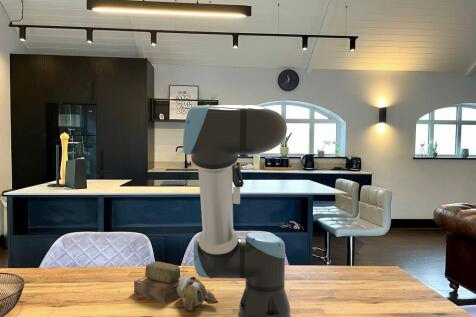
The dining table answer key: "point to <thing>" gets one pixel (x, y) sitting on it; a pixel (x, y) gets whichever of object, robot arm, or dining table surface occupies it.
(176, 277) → the stone block
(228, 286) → the dining table surface
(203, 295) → the ceramic sculpture
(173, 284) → the walnut box
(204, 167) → the robot arm
